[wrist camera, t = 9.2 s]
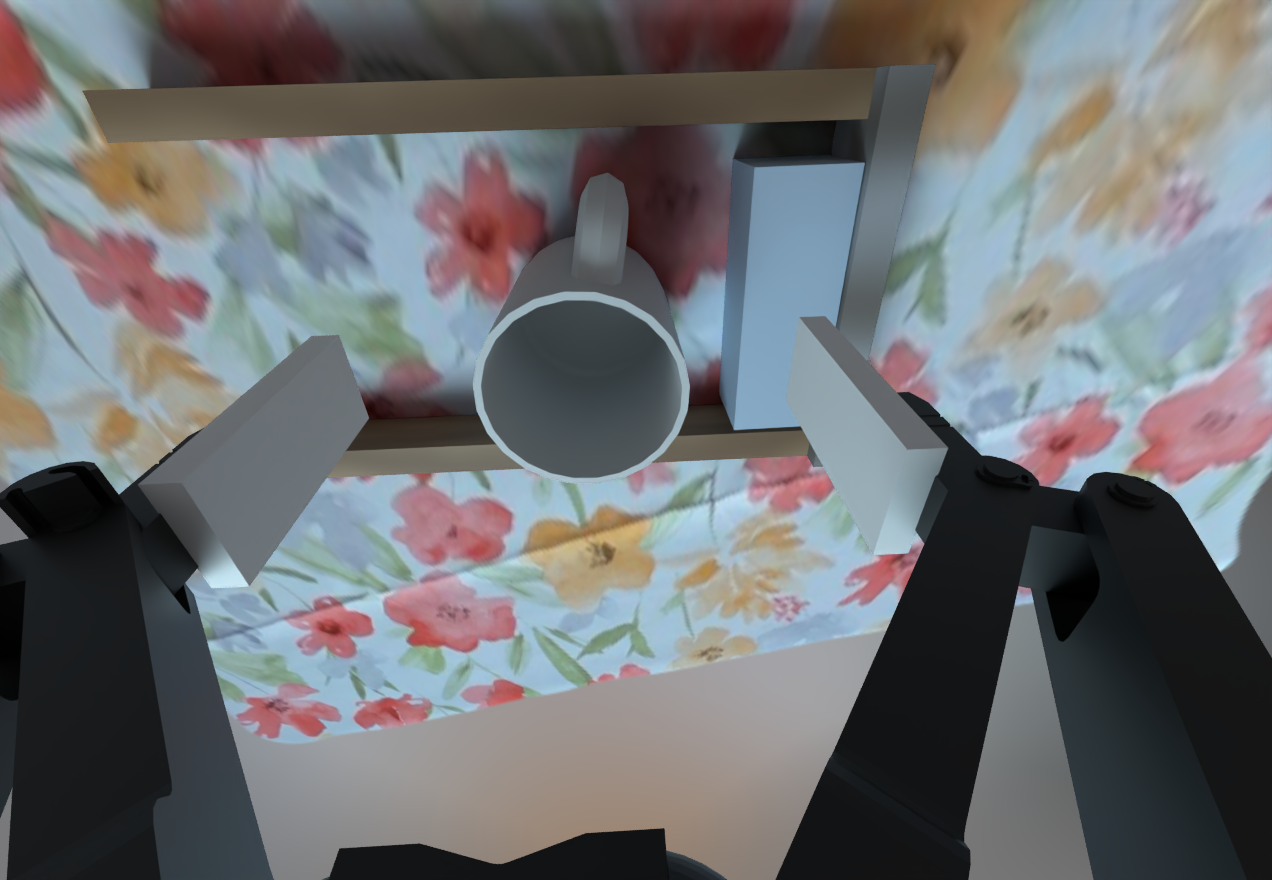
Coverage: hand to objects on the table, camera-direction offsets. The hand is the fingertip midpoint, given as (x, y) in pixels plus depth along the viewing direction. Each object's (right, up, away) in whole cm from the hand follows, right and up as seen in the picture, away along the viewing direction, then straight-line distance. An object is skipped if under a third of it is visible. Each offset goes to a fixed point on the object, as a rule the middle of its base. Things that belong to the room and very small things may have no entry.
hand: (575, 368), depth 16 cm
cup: (0, +5, +9) cm, 11 cm away
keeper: (+6, +4, +8) cm, 11 cm away
